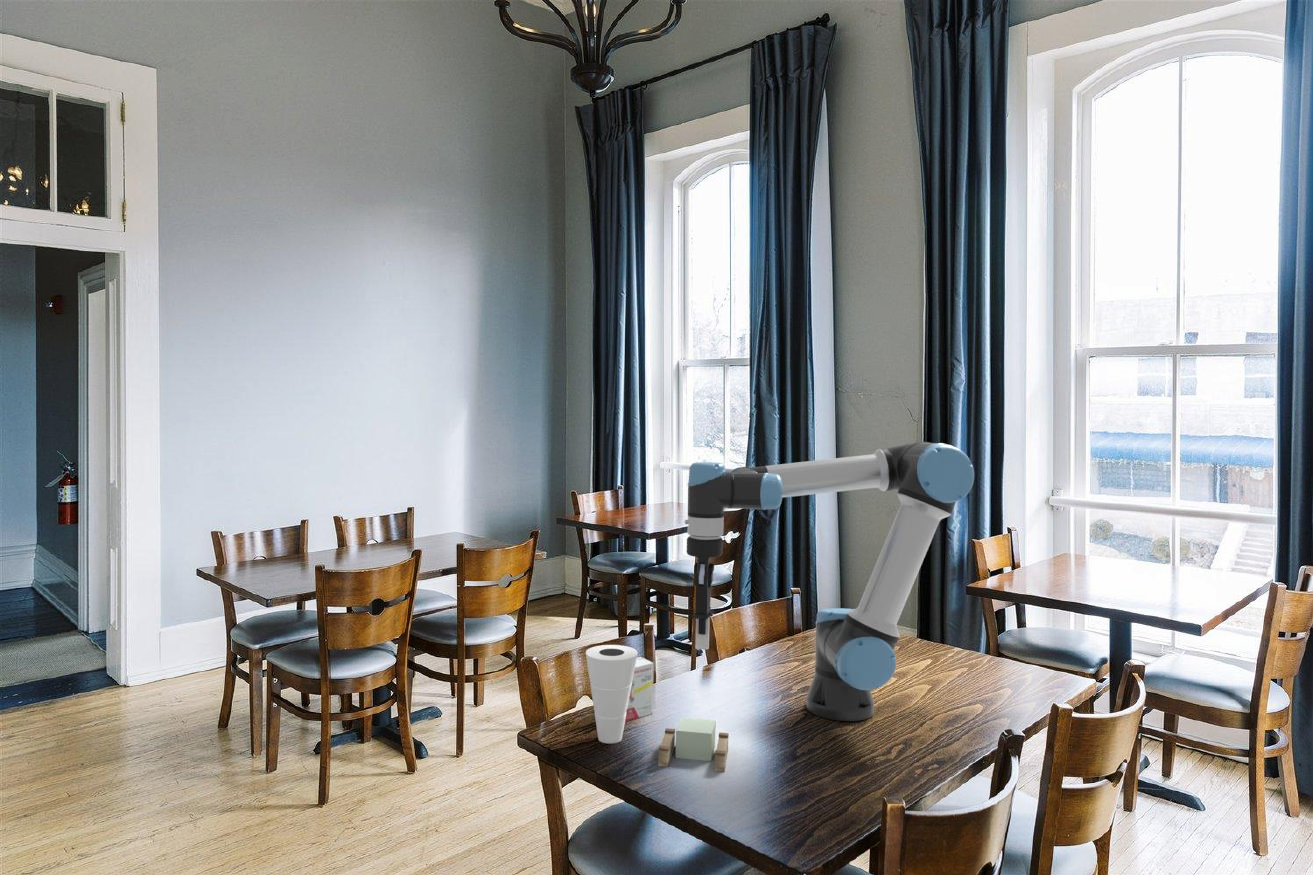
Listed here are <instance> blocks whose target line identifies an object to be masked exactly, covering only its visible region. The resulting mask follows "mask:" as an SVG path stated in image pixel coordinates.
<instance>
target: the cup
mask: <svg viewBox="0 0 1313 875" xmlns="http://www.w3.org/2000/svg"><path fill="white" fill-rule="evenodd" d="M638 653H639V652H638V651H637V649H635V648H634V647H631V646H626V645H620V644H602V645H595V646H592V647H589V648H588V649H586V650H585V657H586V664H587V671H588V679H589V681H590V682H589V685H590V692H591V698H592V706H593V709H594V717H595V724H596V732H597V739H598V741H599V743H600V742H601V743H603V744H610V745H611V744H617V743H619V742H622V740H623V734H624V728H625V724H626V722H625V719H626V710H627V707H628V702H629V697H630V691H631V686H632V680H633V676H634V670H635V665H636V659H637V658H638Z"/></svg>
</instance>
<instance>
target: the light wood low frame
mask: <svg viewBox="0 0 1313 875" xmlns="http://www.w3.org/2000/svg"><path fill="white" fill-rule="evenodd" d="M663 735H664V736H663V737H662V741H661V743H660V745H658V751H657V752H658V767H662V768H663V767H664V768H667V767H669V764H670V762H671V759H672V755H673V751H674V750H675V747H676V729H675V728H667V727H666V728H665V730H664V734H663ZM728 752H729V732H720V731H719V733H718V740H717V745H716V750H714V758H715V760H714V772H720V773H721V772H723V773H724V772H725V771H726V765H727V760H728V759H727V758H728Z"/></svg>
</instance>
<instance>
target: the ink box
mask: <svg viewBox="0 0 1313 875" xmlns="http://www.w3.org/2000/svg"><path fill="white" fill-rule="evenodd" d="M654 663H655V662H652V661H650V660H649V659H646V658H644V657H641V656H640V657H638V656H637V659H636V665H635V670H634V676H633V680H632V686H631V691H630V697H629V702H628V707H627V710H626V719H625V723H626V722H629V721H632V719H633V720H636V719H638V718H642V717H646V716H649V715H652V714H654V711H653V708H654V707H653V706H654V705H653V703H654V702H653V701H654V671H655V670H654V665H655V664H654ZM635 718H636V719H635Z"/></svg>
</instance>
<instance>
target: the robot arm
mask: <svg viewBox="0 0 1313 875" xmlns="http://www.w3.org/2000/svg"><path fill="white" fill-rule="evenodd" d="M974 481H975V470H974V466H973V464H972V462H971V459H970V458H969V457H968V455H967V454H966V452H964V451H962V450H961V449H959V448H958V447H956V446H953V445H951V444H947V443H943V442H939V443H935V442H934V443H933V442H928V441H917V442H911V443H906V444H903V445H902V444H901V445H898V446H892V447H886V448H877V449H876V450H875V451H874V453H871V454H861V455H854V456H853V455H851V456H844V457H837V458H836V457H834V458H827V459H816V460H809V461H807V460H806V461H799V462H791V463H782V464H781V463H780V464H772V465H771V464H770V465H764V466H754V467H746V466H740V467H735V468H734V469H732V470H730V472H727V471H726V466H725V464H724V463H721V462H712V461H711V462H709V461H708V462H707V461H701V462H699V461H698V462H693V463H692V464H691V465H690V466H689V470H688V482H687V519H685V520H684V525H688V526H687V530H686V531H687V534H688V535H689V536H687V538H686V554H687V555H688V556H690V557H696V558H697V562H695V564H694V565H693V573H694V586H695V614H693V615H692V619H695V644H694V646H695V650H709V648H710V647H709V646H710V618H711V617H714V613H713V612H711V600H712V596H711V595H712V584H713V582H714V579H713V578H714V571H715V563H713V562H712V558H713V559H714V558H718V557H721V556H722V555H723V549H724V539H723V538H722V536H724V527H725V526H724V525H725V524H724V520H725V518H724V512H725V509H728V510H730V509H741V510H742V509H747V510H749V509H750V510H762V511H766V510H776V509H779V508H780V507H781V504H782V501H783V498H790V497H800V496H808V495H809V496H811V495H818V494H819V495H820V494H827V493H837V492H839V493H840V492H846V491H847V492H849V491H856V490H857V491H858V490H866V489H867V490H868V489H875V488H877V489H879V491H880V492H881V491H882V492H889V491H897V494H896V495H897V497H898V500H899V503H900V505H899V508H898V510H897V512H896V515H895V518H894V520H893V522H892V525H891V526H890V528H889V531H888V534H887V535H886V538H885V541H884V544H883V546H882V548H881V551H880V553H879V555H878V557H877V561H876V563H875V565H874V568H873V570H872V572H871V575H870V577H869V580H868V582H867V584H866V587H865V589H864V591H863V594H862V597H861V599H860V601H859V604H858V606H857V607H856V608H843V607H842V608H838V607H837V608H836V607H835V608H834V607H833V608H832V607H831V608H823V609H820V610H819V611H818V612H817V614H816V621H815V656H814V657H815V660H814V661H815V663H814V665H815V666H814V675H813V677H812V680H811V683H810V686H809V689H808V691H807V695H806V701H805V702H806V704H805V706H806V709H807V710H808V711H809V712H810V713H811V714H813V715H816V716H818V717H820V718H824V719H828V720H831V721H832V720H833V721H839V722H840V721H842V722H857V721H863V720H868V719H869V718H871V717H872V716H874V714H875V702H874V697H873V695H872V691H873V690H877V689H879V688H882V687H884V686H885V685H886V684H887V683H888V682H889V681H890V680H892V678H893V676H894V674H895V672H896V669H897V668H896V667H897V658H896V653H895V649H896V647H897V644H898V642H899V639H900V637H901V634H900V632H899V629H898V625H897V624H898V621H899V620H900V617H901V615H902V613H903V609H904V607H905V605H906V602H907V600H908V598H909V596H910V593H911V592H912V588H913V585H914V583H915V581H916V579H917V577H918V573H919V572H920V569H921V566H922V565H923V562H924V559H925V557H926V555H927V552H928V551H929V547H930V545H931V544H932V541H933V539H934V535H935V533H936V530H937V528H938V526H939V524H940V522H941V521H942V520H943V519H945V518H948V517H950V516H951V515H952V513H953V510H954V508H955V507H956V506H955V505H956V503H957V502H959V501H961V500H962V499H964V498H965V497H966V496H967V495H968V494H969V493H970V491H971V490H972V487H973V485H974Z"/></svg>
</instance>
